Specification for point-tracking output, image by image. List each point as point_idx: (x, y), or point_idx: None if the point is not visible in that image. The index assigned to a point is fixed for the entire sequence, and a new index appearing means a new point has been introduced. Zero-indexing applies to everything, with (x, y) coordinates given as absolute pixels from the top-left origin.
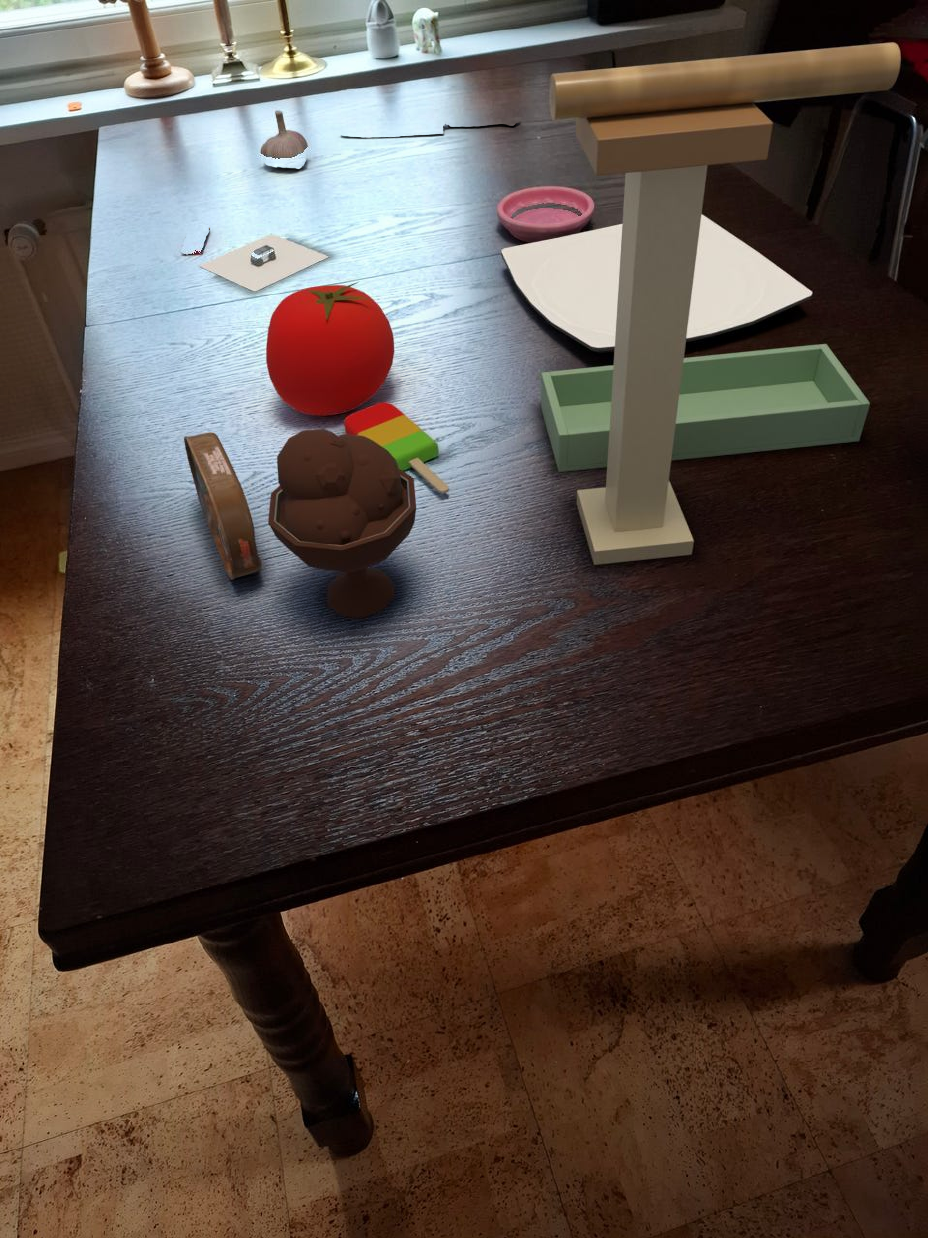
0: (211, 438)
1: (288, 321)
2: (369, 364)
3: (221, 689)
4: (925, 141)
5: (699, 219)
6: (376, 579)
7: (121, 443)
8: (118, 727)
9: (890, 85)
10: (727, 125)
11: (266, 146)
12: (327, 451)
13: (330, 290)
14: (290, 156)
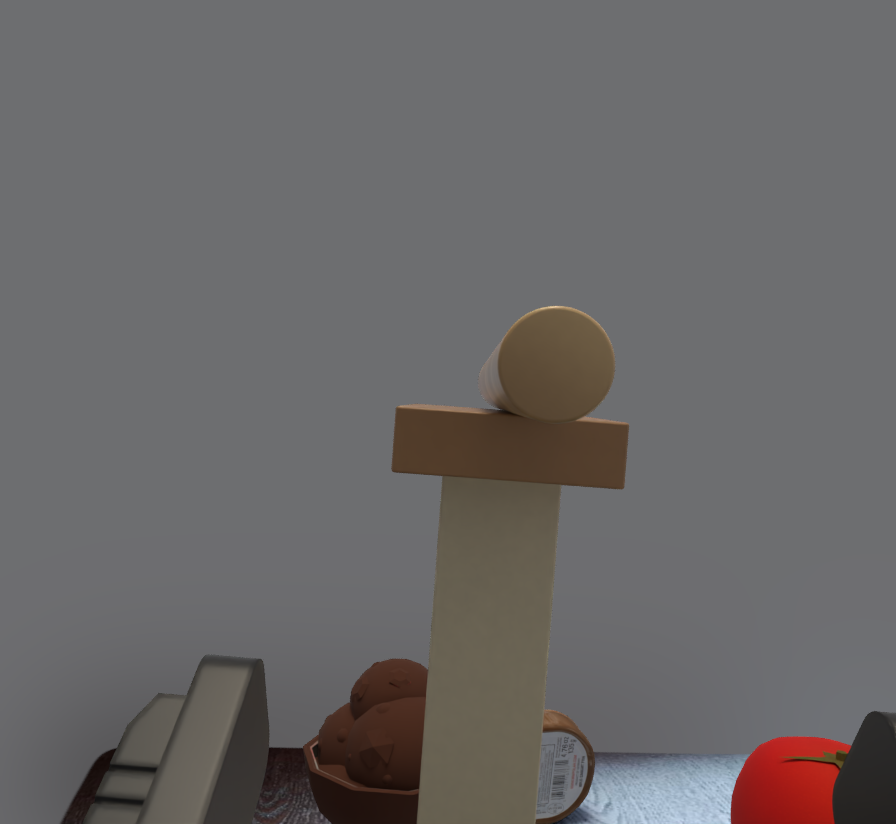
0: (554, 722)
1: (774, 740)
2: None
3: (280, 809)
4: (834, 787)
5: (435, 577)
6: None
7: (677, 769)
8: (268, 766)
9: (507, 398)
10: (407, 405)
11: None
12: (377, 671)
13: None
14: None
